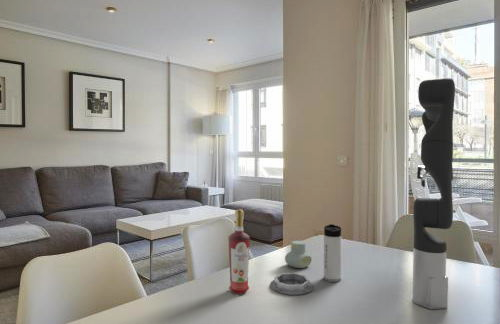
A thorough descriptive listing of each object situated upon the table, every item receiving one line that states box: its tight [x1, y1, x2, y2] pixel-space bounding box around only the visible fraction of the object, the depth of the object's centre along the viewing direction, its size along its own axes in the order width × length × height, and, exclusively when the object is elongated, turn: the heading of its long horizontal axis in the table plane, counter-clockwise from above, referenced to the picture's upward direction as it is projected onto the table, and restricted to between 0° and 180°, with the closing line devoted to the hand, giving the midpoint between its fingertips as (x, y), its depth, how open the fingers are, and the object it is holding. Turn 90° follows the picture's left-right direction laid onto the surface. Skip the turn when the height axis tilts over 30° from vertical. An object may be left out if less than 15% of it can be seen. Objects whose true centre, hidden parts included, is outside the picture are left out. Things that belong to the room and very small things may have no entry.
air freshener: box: [284, 240, 313, 269], centre depth 143 cm, size 11×8×10 cm
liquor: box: [227, 209, 251, 295], centre depth 117 cm, size 7×7×28 cm
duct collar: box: [270, 272, 314, 296], centre depth 122 cm, size 15×15×3 cm
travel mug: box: [323, 223, 342, 283], centre depth 128 cm, size 6×7×20 cm
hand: (434, 187), depth 157 cm, fingers open, 8 cm apart
